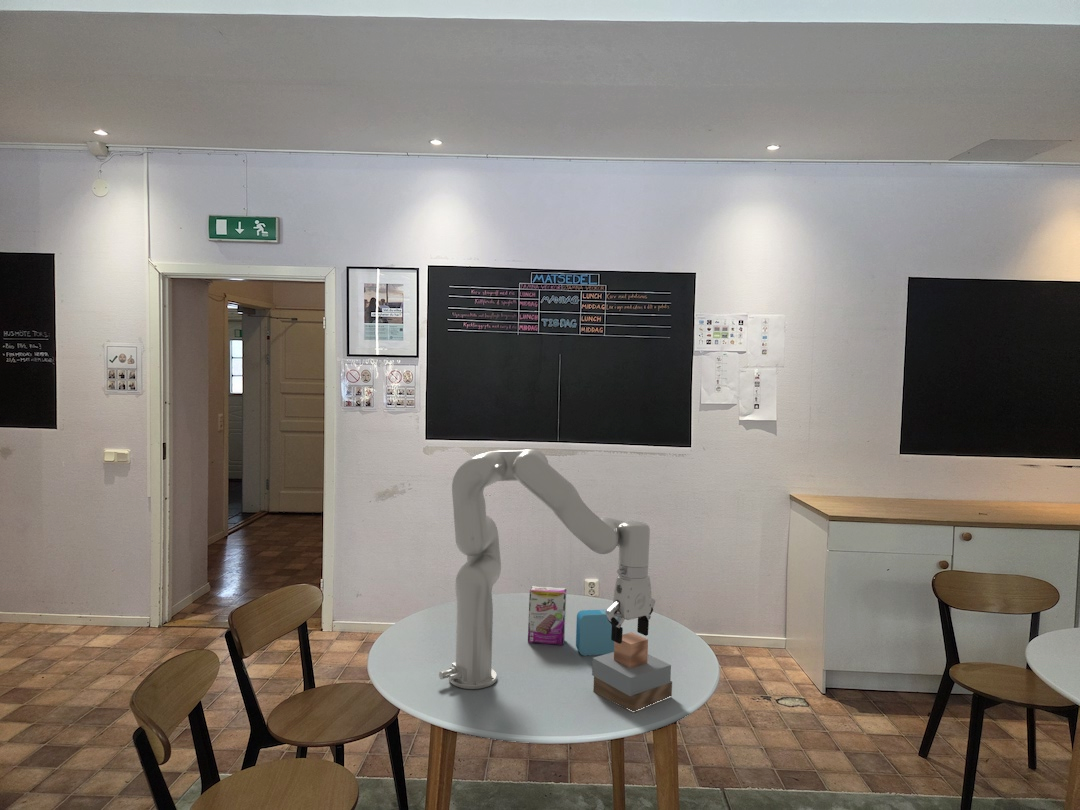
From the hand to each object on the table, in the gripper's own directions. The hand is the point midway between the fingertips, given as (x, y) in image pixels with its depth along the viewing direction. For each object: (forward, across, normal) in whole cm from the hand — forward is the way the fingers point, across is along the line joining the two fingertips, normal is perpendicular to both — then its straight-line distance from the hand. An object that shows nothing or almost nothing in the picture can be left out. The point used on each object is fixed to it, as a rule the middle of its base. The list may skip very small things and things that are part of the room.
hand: (629, 637), depth 168 cm
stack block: (+6, 0, 0) cm, 6 cm away
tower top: (+11, +1, 0) cm, 11 cm away
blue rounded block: (+15, +13, +24) cm, 32 cm away
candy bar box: (+15, +6, +40) cm, 43 cm away
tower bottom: (+15, +1, -1) cm, 15 cm away
